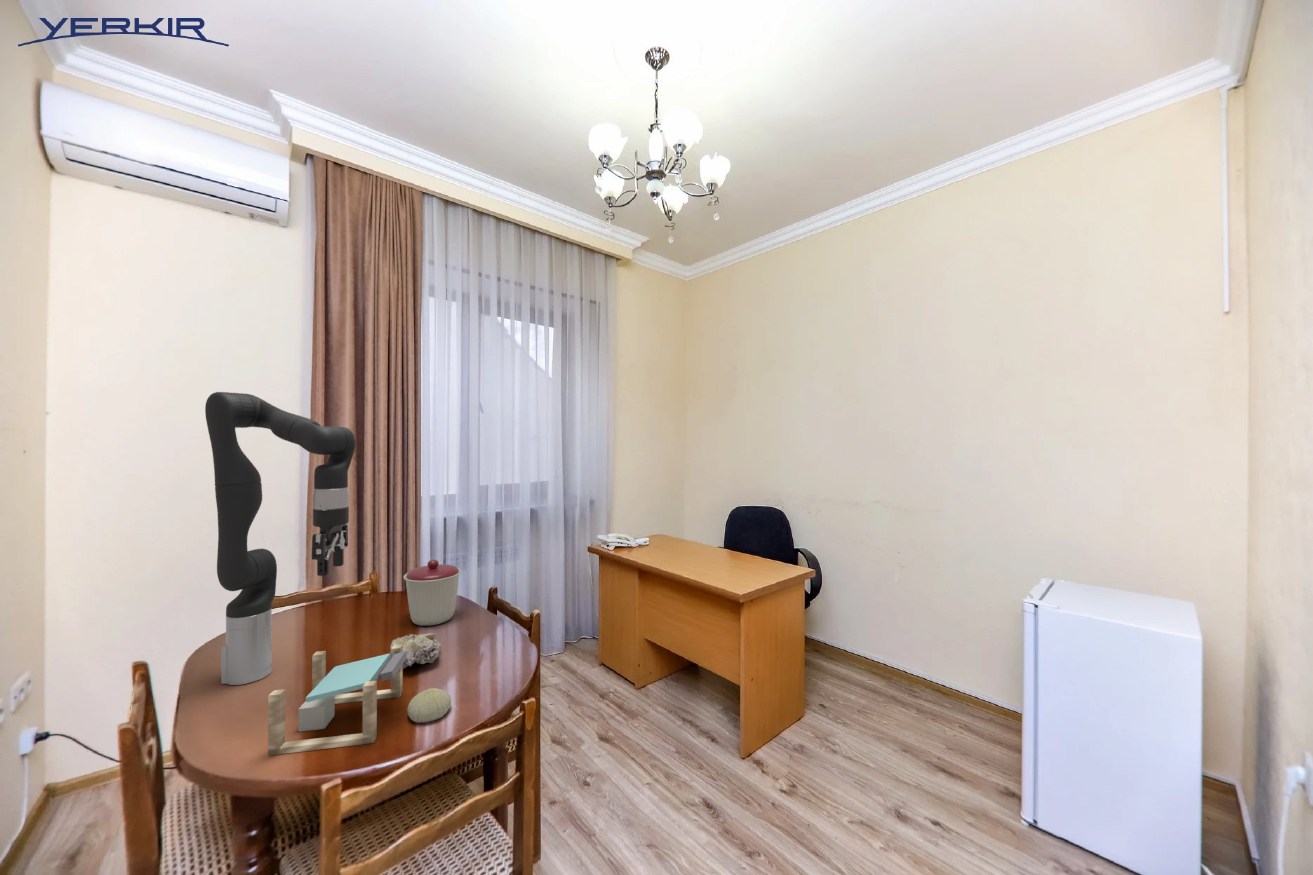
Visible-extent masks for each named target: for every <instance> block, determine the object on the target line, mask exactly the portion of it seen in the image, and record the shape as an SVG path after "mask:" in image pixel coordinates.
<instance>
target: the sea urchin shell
mask: <svg viewBox="0 0 1313 875" xmlns="http://www.w3.org/2000/svg"><path fill="white" fill-rule="evenodd" d="M451 706H452V699H451V695H450V694H449V692H448V691H445V690H443V689H440V688H437V687H432V688H427V689H424V690H423V691H420V692H418V693H417V694H416V695H415V696H414V697H413V696H412V698H411V700H410V701H409V703H408V705H407V711H406V712H407V715H408V717H409V718H410V720H411V721H412V722H414V723H421V724H422V723H428V722H433V721H435V720H439V719H441V718H442V717H444V715H445V714H447V712H448V711H449V709H450V708H451Z"/></svg>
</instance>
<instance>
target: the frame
mask: <svg viewBox="0 0 1313 875" xmlns="http://www.w3.org/2000/svg"><path fill="white" fill-rule="evenodd" d="M401 652H403V645H394V646H393V647H392V648H391V653H390V656H391V657H390V658H389V660H388V661H387V662H386V664H385V665H384V666H383V668H382V669H381V670H380V672H379V673H378V675H377V676H376V677H375V679H374V680H373V681H367V682H366V683H365V684H364V685H363V688H362V691H359V692H357V691H356V692H346V693H342V694H338V695H335V704H345V703H346V704H347V703H357V702H362V732H361V733H351V734H343V735H336V736H328V737H327V736H326V737H318V738H309V739H298V740H293V741H292V740H290V741H286V689H275V690H272V692H270V693H269V695H268V701H267V702H268V704H267V705H268V707H267V711H268V714H267V717H268V723H267V724H268V726H267V727H268V728H267V730H268V731H267V732H268V734H267V736H268V737H267V739H268V740H267V748H268V749H267V755H268V757H269V756H276V755H285V754H293V753H300V752H301V753H302V752H309V751H316V750H317V751H318V750H326V749H333V748H335V749H337V748H342V747H350V746H359V745H367V744H373V743H374V742H375V740H376V739H377V736H378V734H377V732H378V731H377V730H378V729H377V727H378V726H377V725H378V724H377V723H378V720H377V719H378V716H377V715H378V713H377V712H378V711H377V710H378V706H377V705H378V700H384V699H396V698H401V696H402V694H403V672H404V671H403V670H404V669H403V664H402V666H401V667H400V669H399V670H398V672H397V673H396V675H395V676H394V678H393V679H390V689H389V688H388V689H381V690H379V689H378V685H377V684H378V681H379V680H380V679H381V677H380V674H381V672H382V671H383V669H384V668H385V667H386V665H387V664H388V663H389V661H390V660H391V658H392V657H393V656H394V654H397V653H401ZM311 658H312V660H311V661H312V664H311V665H312V668H311V669H312V670H311V672H312V674H311V677H312V678H311V684H312V685H311V688H312V689H311V691H312V690H313V689H314V688H315V687H316V686H317V685H318V684H319V683H320V682H321V681H322V680H323V679H324V678H325V677H326V676H327V670H326V669H327V665H326V664H327V651H326V650H321V651H315V652H314V653H313V654H312V657H311Z"/></svg>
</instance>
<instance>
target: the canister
mask: <svg viewBox="0 0 1313 875" xmlns="http://www.w3.org/2000/svg"><path fill="white" fill-rule="evenodd" d="M461 573H462V569H461V568H459V567H456V566H455V565H451V564H444V563H443V564H439V561H438V560H437V559H430V560H429V561H428V562H427V564H426V565H424V566H420V567H416V568H413V569H411V570H410V571H408V572H406V573H405V574H404V575H403V580H404V581H405V584H406V594H407V602H408V610H409V615H410V619H411V621H412V623H413V624H415V625H417V626H419V627H420V626H421V627H422V626H423V627H428V626H436V625H439V624H443V623H446V622H448V621H450V619H452V618H453V616H454V614H455V609H456V602H457V595H458V586H459V580H460V579H459V578H460V574H461Z"/></svg>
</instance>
